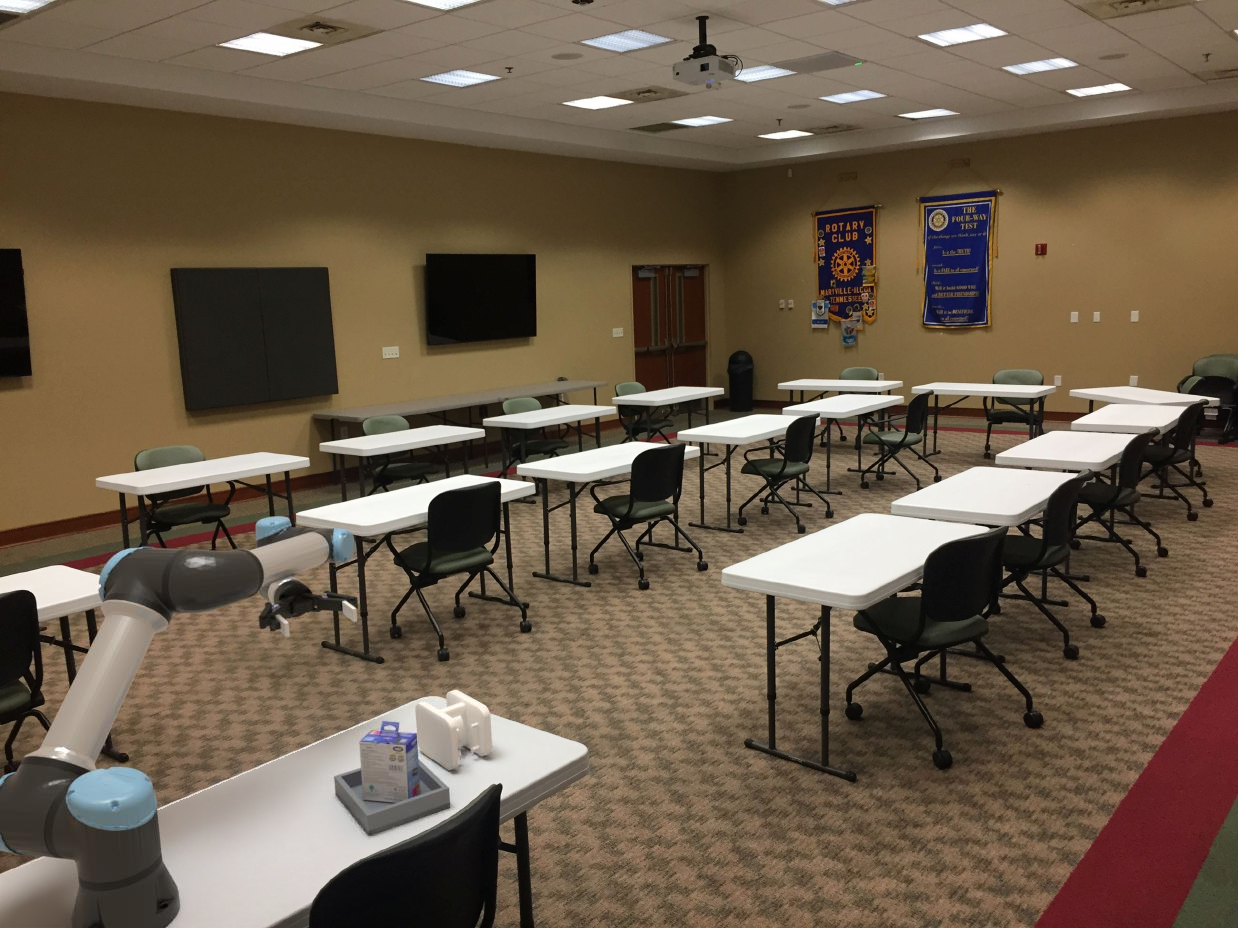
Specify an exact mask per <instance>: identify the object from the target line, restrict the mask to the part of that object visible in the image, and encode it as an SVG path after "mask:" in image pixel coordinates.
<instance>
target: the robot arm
mask: <svg viewBox="0 0 1238 928" xmlns="http://www.w3.org/2000/svg"><path fill="white" fill-rule="evenodd" d="M254 539H255V544H256V548H253V549H250V550H249V549H246V548H234V549H230V550H213V549H212V550H210V549H198V548H197V549H196V548H191V549H189V548H159V547H158V548H157V547H153V546H141V547H131V548H126V549H124V550H123V549H122V550H120V551H119V552H117V553H116V554H113V556H111V558H110V559H109V560H108V561H107V562H106V563H105V565H104V567H103V568H102V570H101V573H100V576H99V580H98V585H100V587H99V588H98V589H97V590H98V597H99V598H100V600H101V602H102V603H101V605H100V609H101V612H102V614H103V616H104V619H103V621H102V623H101V626H100V627H99V629H98V632H97V633H96V636H95V638H94V639H93V641H92V644H91V646H90V648H89V649H88V652H87V654H86V655H85V657H84V660H83V662H81V665H80V667H79V670H78V671H77V673H76V675H75V677H74V680H73V681H72V684H71V685H70V687H69V689H68V692H67V693H66V695H65V698H64V700H63V701H62V703H61V706H60V707H59V709H58V711H57V713H56V716H55V717H54V719H53V721H52V724H51V725H50V728H49V729H48V731H47V734H46V736H45V737H44V739H43V741H42V743H41V745H40V747H39V748H38V749H37V750H35V751H32V752H29V753H28V754H26V755H25V756H24V757H23V758H22V760H21V762H20V764H19V766H18V768H17V770H16V771H14V772H13V771H12V772H10V773H8V774H7V773H6V774H5V775H3V776H1V778H0V851H1V852H6V853H11V854H13V855H15V856H26V855H27V856H39V857H44V858H45V857H46V858H53V859H61V860H62V859H63V860H69V861H71V860H72V861H74V862H75V863H76V864H75V865H76V870H77V876H78V878H77V879H78V890H77V895H76V897H75V902H74V906H73V910H72V915H71V918H70V919H71V921H70V924H71V928H165V927H166V926H167V925H169V923H171V922H172V920H173V919H174V918H175V917H176V915H177V914H178V912H179V910H180V907H181V901H180V892H179V891H180V890H179V888H178V886H177V883H176V882H175V880H174V878H173V876H172V875H171V873H170V871H169V869H168V868H167V866H166V864H165V862H164V860H163V853H162V845H161V833H160V825H159V816H158V815H159V813H158V802H157V801H158V800H157V796H156V794H155V790H154V786H153V782H152V780H151V778H150V777H149V776H148V775H147V774H146V773H144V772H143V771H141V770H139V769H137V768H136V769H135V768H133V767H126V766H125V767H124V766H110V768H107V769H105V768H97V767H96V762H97V760H98V757H99V756H100V753H101V751H102V749H103V747H104V745H105V743H106V740H107V738H108V736H109V734H110V731H111V730H112V727H113V725H114V723H115V721H116V719H117V717H118V714H119V712H120V710H121V708H122V705H123V703H124V701H125V699H126V698H127V695H128V692H129V691H130V689H131V687H132V686H131V685H132V683H133V681H134V680H135V678H136V675H137V674H138V672H139V669H140V666H141V664H142V662H143V660H144V657H146V653H147V651H148V649H149V648H150V645H151V642H152V640H153V639H154V636H155V635H156V634H159V633H161V632H164V631H165V630H167V629H168V627H169V625H170V623H171V621H172V618H173V616H174V614H201V613H205V612H210V611H213V610H218V609H222V608H224V607H228V606H230V605H234V604H237V603H239V602H242V601H244V600H248V599H249V598H252V597H254V596H256V595H257V594H259V593H260V596H261V597H262V598H263V599H264V600H267V602H264V607H263V609H262V611H261V612H260V614H259V615H258V626H259V629H260V630H264V629H266V628H267V627H269V631H270V632H276V631H277V630H278V631H279V632H280V633H281V634H282V635H283V636H284V637H286V638H287V637H290V636H291V634H290V623H289V622H288V621H287V619H291V618H299V617H301V616H303V615H305V614H306V613H308V614H309V613H310V612H311V613H320V612H322V611H325V612H326V611H328V612H341V613H342V614H343V615H344V616H345V617H347V618H348V619H350V620H351V621H352V622H353V623H355V622H358V612H357V611H358V610H359V602H358V601H359V600H358V596H355V595H354V596H353V595H347V594H341V593H335V592H332V591H330V590H325V591H323V595H321V594H315V593H313V592H312V590H311V588H309V586H308V585H306V584H304V582H302V581H301V580H299V579H298V578H297V577H296V575H299V574H301V573H303V572H306V571H309V570H312V569H313V568H316V567H318V566H319V567H320V566H322V565H325V564H329V563H333V564H338V563H339V564H340V563H342V564H343V563H347V562H349V561H350V560H351V559H352V557H353V556H354V552H355V547H356V545H355V537H354V534H353V533H352V531H350V530H349V529H346V528H338V527H334V528H330V527H329V528H328V527H324V528H323V527H320V528H319V527H302V526H301V527H297V526H293V527H292V523H291V520H290V518H289V517H288V516H283V515H282V516H281V515H280V516H279V515H278V516H277V515H276V516H269V517H267V516H266V517H263V518H261V519H259V520H257V522H256V524H255V538H254Z"/></svg>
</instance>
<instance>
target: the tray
mask: <svg viewBox="0 0 1238 928" xmlns="http://www.w3.org/2000/svg"><path fill="white" fill-rule="evenodd" d="M418 761H419V776H420V793H419V794H418V795H417V796H415V797H412V798H409V799H407V800H404V801H401V802H398V803H391V802H381V801H370V800H363V790H362V774H361V767H359V768H356V769H352V770H349V771H346V772H342V773H340V774H337V775H333V781H334V791H335V793H334V794H335V797H337V799H338V800H339V801H340V802H341V804H342V805H343V806H344V807H345V809H346V810H347V811H348V812H349V814H350V815H351V817H353V819H354V820H355V821H356V823H357V824H358V825H359V826H360V827H361V829H362V830H363V831H364V832H365V834H366V835H367V836H368V837H370V836H374V835H377V834H379V833H382V832H385V831H388V830H391V829H394V828H396V827H399V826H401V825H404V824H407V823H410V822H413V821H417V820H420V819H421V818H425V817H428V816H430V815H434V814H436V813H438V812H442V811H444V810H447V809H449V808H451V798H450V797H451V795H450V787H449V786H448V785H447V784H445V782H444V781H443V780H441V779H440V778H439V777H438V776H437V775H436V774H435V773H434V772H433V771H432V770H431V769H430V768H429V767H427V765H425V763H424V762H422V761H421V759H419V758H418Z"/></svg>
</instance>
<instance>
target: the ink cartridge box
mask: <svg viewBox="0 0 1238 928" xmlns="http://www.w3.org/2000/svg"><path fill="white" fill-rule="evenodd" d="M389 726H390V727H394V728H395V729H394V730H393V729H385V727H389ZM399 730H400V722H397V721H385V720H383V721H382V723H381V725H380V730H371V731H369V732H368V733H367V734H366V735H364V737H363V738H361V740H360V741H359V743H358V744H359V757H360V768H361V774H362V790H363V800H370V801H381V802H391V803H398V802H401V801H404V800H407V799H409V798H412V797H415V796H417V795H418V794H419V793H420V776H419V761H418V759H419V749H418V748H419V746H418V740H417V732H406V731H405V732H404V731H403V732H402V731H399Z"/></svg>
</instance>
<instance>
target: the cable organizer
mask: <svg viewBox="0 0 1238 928" xmlns="http://www.w3.org/2000/svg"><path fill="white" fill-rule="evenodd" d="M445 698H446V707H443V708H441V709H438V708H437V707H435V706H433V705H431V704H430V703H428V702H427V701H425V700H424V701H421V702H418V703H416V704H415V723H416V733H417V744H418V748H419V750H420V751H421V753H423V754H425V756H426V757H428V758H430V759H431V760H433V761H435V762H436V763H438V764H439V765H441V767H442V768H444V769H446V770H447V771H451V770H454V769H456V768H458V766H459V763H460V762H459V759H460V760H462V756H463V754H462V753H461V750H460V749H459V748H461V747H465V748H467V749H469V750H470V754H471V755H474V753H475V754H477V755H478V756H480V757H485V756H487V755H490V754H491V753H492V752H493V737H492V722H491V719H492V718H491V712H490V709H489V708H488V706H487V705H486V704H483V703H482V702H480V701H479V700H477V699H474V698H473V697H471V696H470V695H468V694H466V693H463V691H460V690H458V689H453V690H450V691H447V693H446V696H445Z"/></svg>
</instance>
